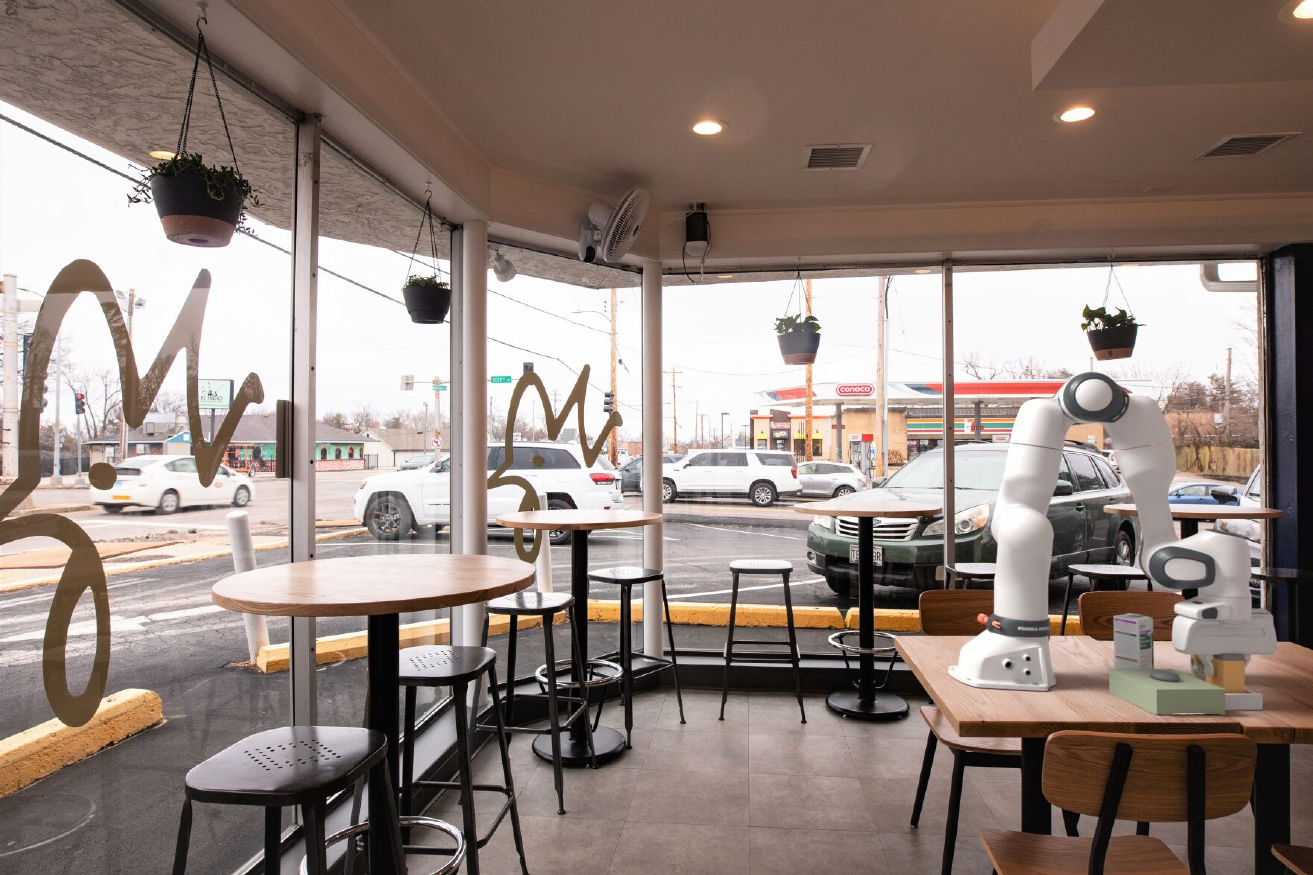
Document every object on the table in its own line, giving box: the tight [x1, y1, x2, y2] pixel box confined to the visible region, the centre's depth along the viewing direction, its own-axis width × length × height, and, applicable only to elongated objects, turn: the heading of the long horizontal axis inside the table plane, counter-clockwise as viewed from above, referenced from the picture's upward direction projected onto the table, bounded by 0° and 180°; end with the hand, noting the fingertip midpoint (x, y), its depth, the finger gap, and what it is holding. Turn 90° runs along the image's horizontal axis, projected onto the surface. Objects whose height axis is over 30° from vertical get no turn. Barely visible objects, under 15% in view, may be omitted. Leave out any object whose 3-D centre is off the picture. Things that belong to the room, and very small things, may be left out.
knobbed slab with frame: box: [1108, 668, 1264, 716], centre depth 153 cm, size 24×14×6 cm, turn 93°
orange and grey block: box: [1205, 654, 1246, 693], centre depth 154 cm, size 5×5×9 cm
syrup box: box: [1113, 613, 1155, 669], centre depth 169 cm, size 6×6×14 cm
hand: (1224, 675), depth 154 cm, fingers closed on orange and grey block, 4 cm apart
